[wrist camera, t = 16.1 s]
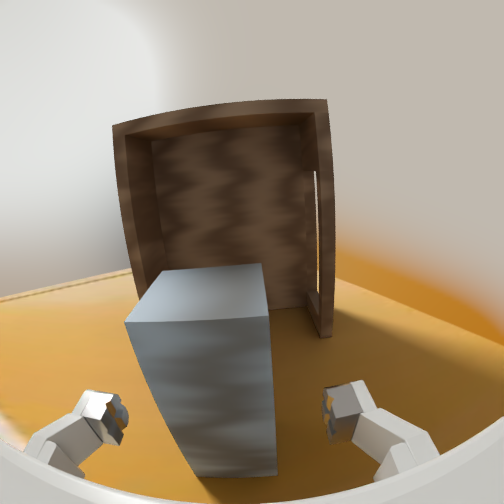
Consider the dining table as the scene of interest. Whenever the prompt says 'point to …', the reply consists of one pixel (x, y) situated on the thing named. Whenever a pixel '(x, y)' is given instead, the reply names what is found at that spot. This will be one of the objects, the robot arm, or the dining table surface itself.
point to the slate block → (211, 366)
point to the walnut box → (233, 196)
